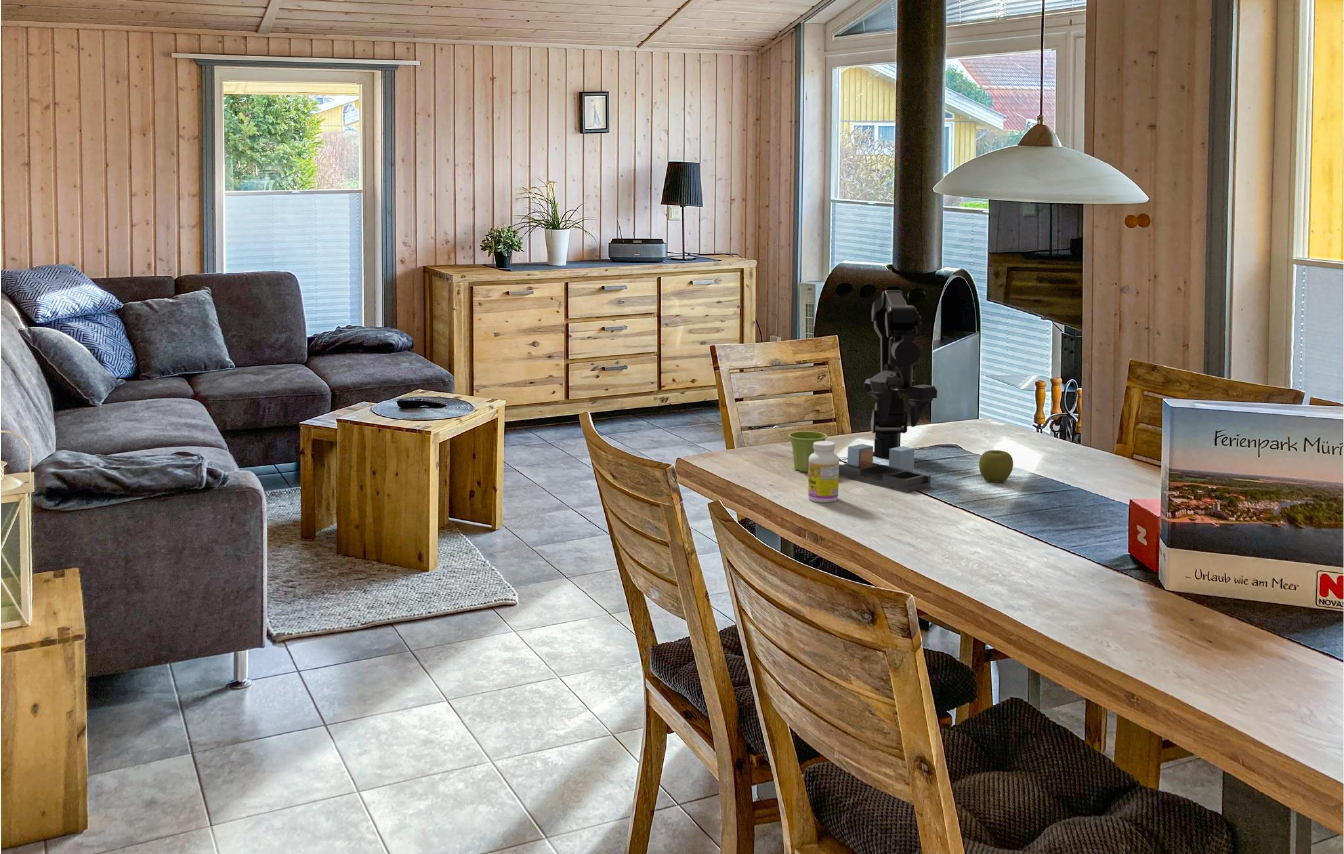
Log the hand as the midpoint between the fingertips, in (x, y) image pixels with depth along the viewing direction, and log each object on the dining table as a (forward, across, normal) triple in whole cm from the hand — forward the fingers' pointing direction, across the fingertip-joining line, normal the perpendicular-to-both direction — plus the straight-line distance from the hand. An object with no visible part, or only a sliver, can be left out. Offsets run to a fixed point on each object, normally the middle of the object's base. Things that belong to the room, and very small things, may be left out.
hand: (898, 423), depth 288 cm
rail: (+12, +4, -9) cm, 16 cm away
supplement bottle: (+12, +8, -32) cm, 35 cm away
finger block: (+12, +1, +1) cm, 12 cm away
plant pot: (+12, -16, -15) cm, 25 cm away
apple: (+12, +20, +11) cm, 26 cm away
